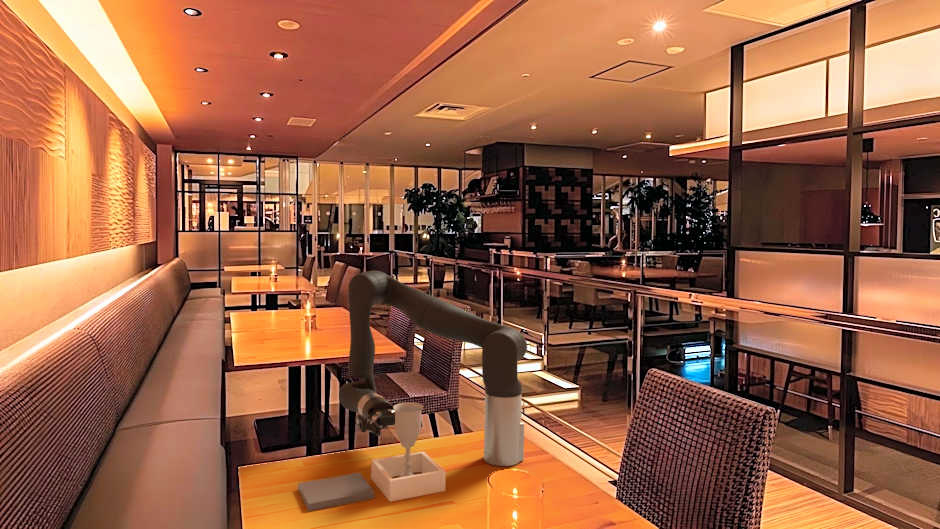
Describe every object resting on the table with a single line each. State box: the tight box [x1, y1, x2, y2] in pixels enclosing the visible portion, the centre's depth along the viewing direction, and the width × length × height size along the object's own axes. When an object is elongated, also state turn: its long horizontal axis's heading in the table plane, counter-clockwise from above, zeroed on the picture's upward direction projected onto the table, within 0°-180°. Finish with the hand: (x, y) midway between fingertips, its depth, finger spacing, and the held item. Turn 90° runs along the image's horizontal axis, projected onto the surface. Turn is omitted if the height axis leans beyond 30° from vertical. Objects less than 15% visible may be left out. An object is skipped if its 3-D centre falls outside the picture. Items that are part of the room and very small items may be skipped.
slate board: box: [297, 472, 375, 512], centre depth 133 cm, size 14×11×2 cm
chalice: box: [393, 401, 424, 477], centre depth 138 cm, size 7×7×18 cm
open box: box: [370, 450, 447, 502], centre depth 138 cm, size 13×13×4 cm
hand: (396, 429), depth 144 cm, fingers open, 8 cm apart
